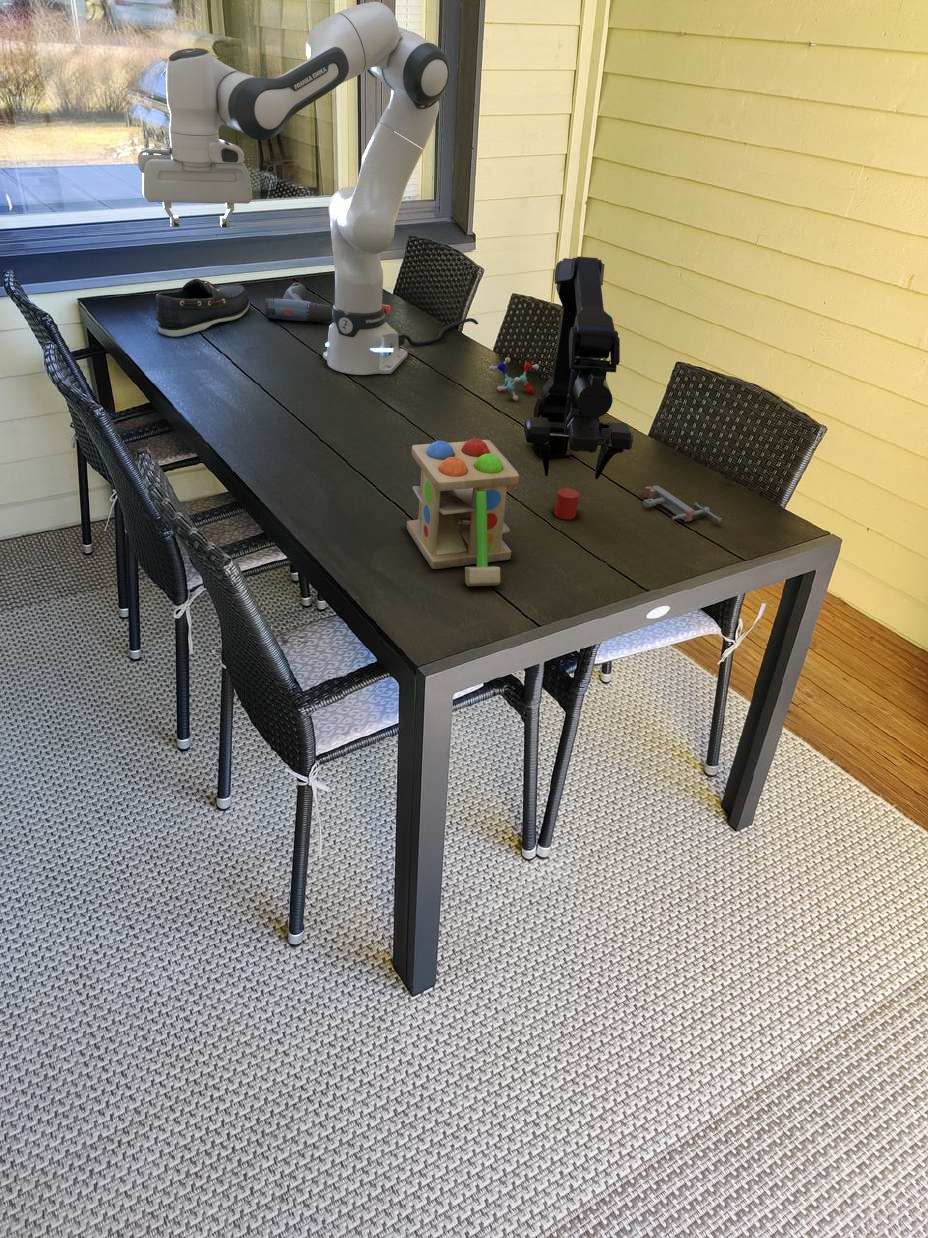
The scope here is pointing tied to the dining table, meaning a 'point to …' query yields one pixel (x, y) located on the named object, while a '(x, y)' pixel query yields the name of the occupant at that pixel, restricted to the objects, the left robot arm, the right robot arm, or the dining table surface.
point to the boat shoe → (199, 307)
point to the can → (566, 503)
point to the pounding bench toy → (463, 507)
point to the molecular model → (509, 380)
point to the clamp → (655, 498)
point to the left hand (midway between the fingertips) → (200, 226)
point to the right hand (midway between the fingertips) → (571, 476)
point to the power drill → (297, 306)
